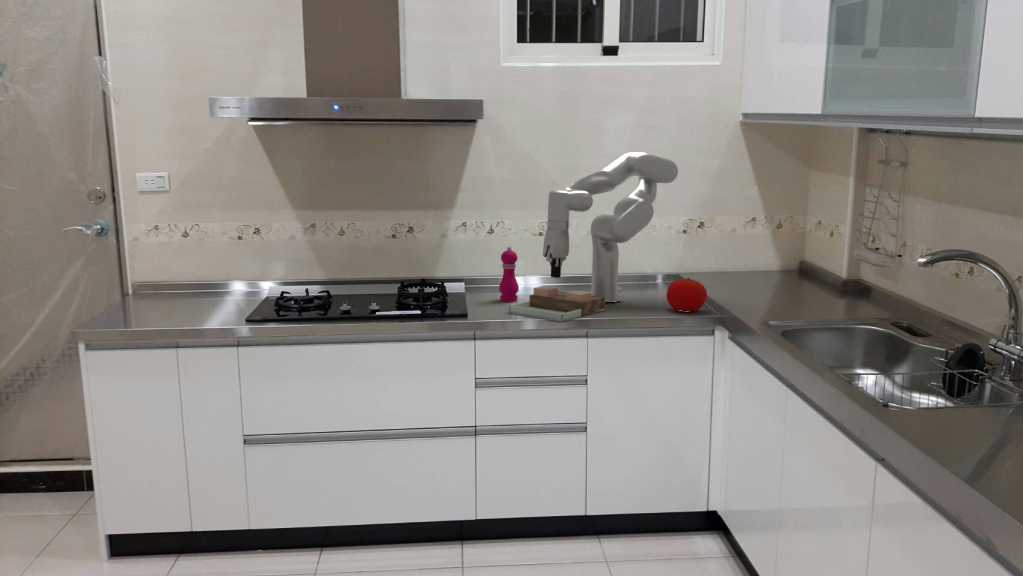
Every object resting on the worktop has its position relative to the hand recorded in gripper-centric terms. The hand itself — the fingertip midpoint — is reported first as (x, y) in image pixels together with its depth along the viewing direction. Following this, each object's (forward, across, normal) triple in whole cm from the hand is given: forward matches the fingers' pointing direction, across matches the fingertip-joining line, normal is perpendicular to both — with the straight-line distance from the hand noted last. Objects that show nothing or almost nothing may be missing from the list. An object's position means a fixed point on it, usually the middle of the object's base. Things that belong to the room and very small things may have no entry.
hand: (555, 277), depth 283 cm
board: (+10, +3, +7) cm, 13 cm away
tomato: (+9, -22, +40) cm, 47 cm away
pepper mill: (+11, +4, -18) cm, 21 cm away
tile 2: (+6, +6, +14) cm, 17 cm away
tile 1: (+6, +6, 0) cm, 8 cm away
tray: (+10, +16, +7) cm, 20 cm away
